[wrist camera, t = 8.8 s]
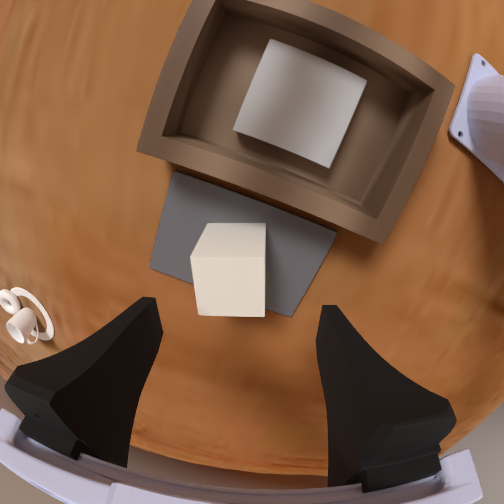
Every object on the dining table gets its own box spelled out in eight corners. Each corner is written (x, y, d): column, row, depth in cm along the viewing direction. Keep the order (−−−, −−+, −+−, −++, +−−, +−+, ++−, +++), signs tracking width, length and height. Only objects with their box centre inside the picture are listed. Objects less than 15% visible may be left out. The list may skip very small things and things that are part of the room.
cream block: (265, 223, 20) (264, 257, 15) (265, 273, 21) (264, 316, 17) (207, 223, 20) (190, 256, 15) (212, 273, 22) (198, 314, 17)
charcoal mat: (336, 231, 20) (337, 233, 20) (290, 314, 23) (290, 317, 23) (174, 170, 19) (173, 171, 18) (150, 265, 22) (149, 267, 22)
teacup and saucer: (0, 290, 26) (-18, 307, 22) (22, 270, 24) (1, 290, 20) (38, 341, 29) (24, 361, 26) (66, 331, 27) (50, 354, 24)
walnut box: (423, 87, 15) (455, 85, 11) (363, 221, 19) (382, 245, 16) (218, -1, 13) (206, -26, 9) (161, 143, 18) (136, 151, 14)
